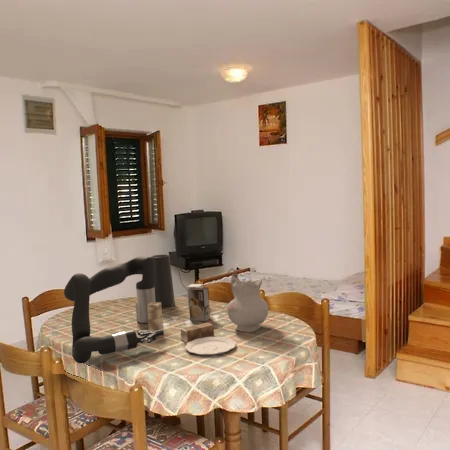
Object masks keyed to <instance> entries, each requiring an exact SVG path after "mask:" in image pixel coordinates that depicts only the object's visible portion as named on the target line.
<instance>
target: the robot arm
mask: <svg viewBox="0 0 450 450" xmlns="http://www.w3.org/2000/svg"><path fill="white" fill-rule="evenodd" d="M134 275H140V276H141V275H142V277H141V280H139V281H137V282H136V283H135V289H136V290H135V291H136V293H135V294H136V302H135V311H136V314H135V315H136V322H139V323H140V324H148V310H147V305H148V304H149V303H151V302H155V288H154V284H155V262H154V260H153V258H151V256H139V255H138V256H136V257H133V258H131V259H130V260H127V261H125V262H122V263H118V264H114V265H112V266H108V267H105V268H103V269H101V270H99V271H98V272H96V273H95V274H94V275H92V276H91V277H89V276H87V275H86V274H84V273H80V272H79V273H77V272H76V273H75V274H73V275H72V276H71V278H70V279H69V280H68V282H67V284H65V286H64V289H63V295H64V297H65V298H66V300H69V301H71V302H74V304H73V309H72V316H71V335H72V342H71V343H72V347H71V348H72V349H71V352H72V353H71V355H72V358H73V360H74V362H76V363H78V364H84V363H87V362H88V361H89V360H90V359H91V356H92V353H96V352H98V354H99V355H101V356H102V355H103V356H104V355H109V354H113V353H120V352H124V351H128V350H132V349H136V348H137V347H138V344H144V343H146V342H147V344H151V343H152V342H155V340H157V337H162V336H164V335H165V332H164V329H163V330H157V331H151V330H149V329H137V330H136V331H135V330H134V329H130V330H129V329H128V330H124V331H120V332H116V333H112V334H109V335H104V336H91V323H90V322H91V321H90V296H92V295H94V294H95V293H98V292H101V291H104V290H106V289H109V288H111V287H114V286H117V285H120V284H122V283H123V282H124V281H125V280H126V278H127V277H128V278H129V277H130V276H134Z"/></svg>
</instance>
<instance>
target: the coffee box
mask: <svg viewBox="0 0 450 450" xmlns="http://www.w3.org/2000/svg"><path fill="white" fill-rule="evenodd" d="M209 293H210V291H209V287H207V286H206V287H205V286H204V287H192V288H190V289H188V292H187V298H188V297H189V306H188V309H189V310H188V311H189V320H190V321H194V322H195V321H197V322H207V321H208V320H210V319H211V307H210V297H209V296H210V294H209Z"/></svg>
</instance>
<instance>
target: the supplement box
mask: <svg viewBox="0 0 450 450" xmlns="http://www.w3.org/2000/svg"><path fill="white" fill-rule="evenodd" d="M192 287H205V286H204V284H203V283H191V284H189V285H188V286H186V288H187V293H188V289H190V288H192ZM187 305H188V306H187V307H189V297H188V296H187Z"/></svg>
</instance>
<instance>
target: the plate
mask: <svg viewBox="0 0 450 450" xmlns="http://www.w3.org/2000/svg"><path fill="white" fill-rule="evenodd" d="M236 344H237V342H236V341H235V340H233V339H232V338H229V337H223V336H211V337H204V338H199V339H195V340H193V341H191V342H187V343H186V345H185V346H184V349H185V350H187V351H188V352H189V353H192V354H196V355H201V356H215V355H221V354H225V353H226V352H230V351H231V350H232V349H233V350H234V348H236Z"/></svg>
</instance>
